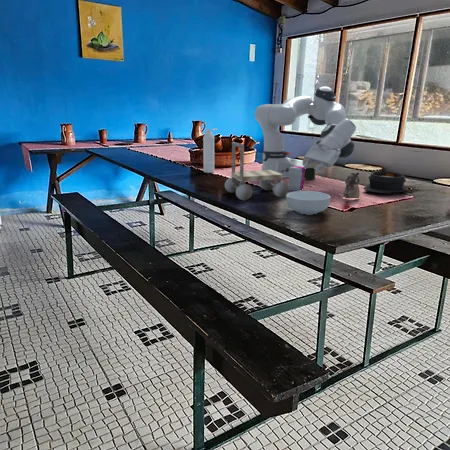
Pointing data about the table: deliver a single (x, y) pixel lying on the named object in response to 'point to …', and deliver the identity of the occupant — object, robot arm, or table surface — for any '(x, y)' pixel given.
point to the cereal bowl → (308, 201)
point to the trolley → (253, 178)
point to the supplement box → (296, 178)
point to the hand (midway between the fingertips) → (310, 169)
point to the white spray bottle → (208, 151)
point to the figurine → (352, 186)
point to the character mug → (309, 169)
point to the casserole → (386, 182)
